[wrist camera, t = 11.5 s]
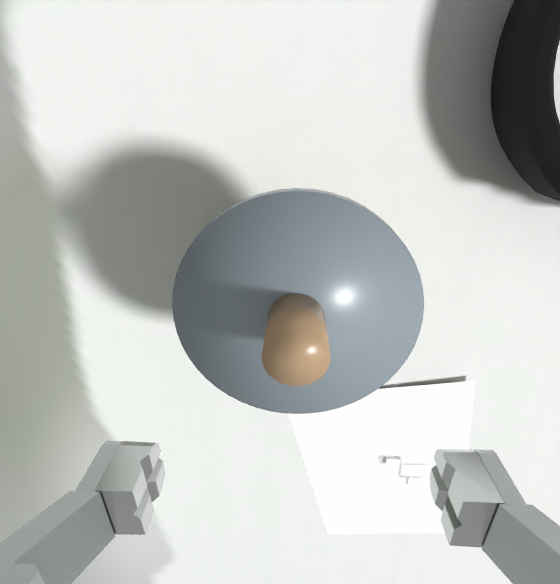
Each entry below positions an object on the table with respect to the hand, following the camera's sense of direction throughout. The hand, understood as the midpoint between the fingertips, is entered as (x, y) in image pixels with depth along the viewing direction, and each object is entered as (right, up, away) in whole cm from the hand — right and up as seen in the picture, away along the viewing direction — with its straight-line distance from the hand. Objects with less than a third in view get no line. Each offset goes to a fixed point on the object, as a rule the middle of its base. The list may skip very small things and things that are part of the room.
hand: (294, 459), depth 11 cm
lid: (0, +4, +9) cm, 10 cm away
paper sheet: (+4, -13, +27) cm, 31 cm away
